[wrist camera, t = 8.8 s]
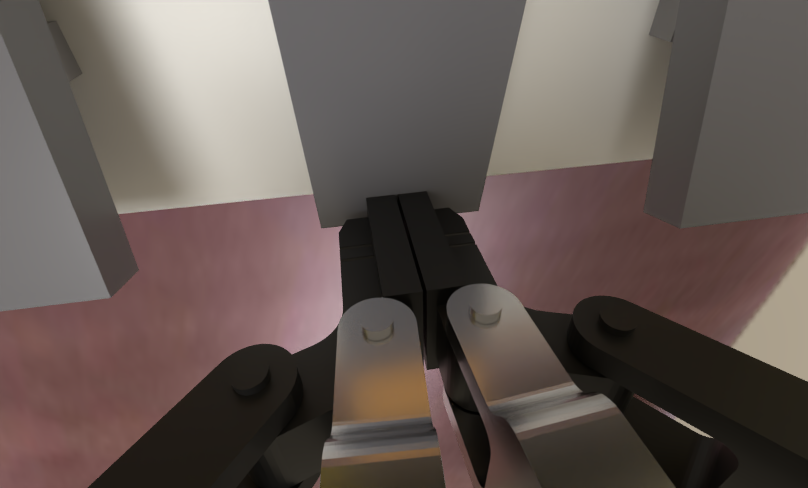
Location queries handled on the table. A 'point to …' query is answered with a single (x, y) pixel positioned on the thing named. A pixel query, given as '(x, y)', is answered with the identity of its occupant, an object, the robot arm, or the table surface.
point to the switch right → (733, 115)
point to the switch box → (272, 106)
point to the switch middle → (396, 96)
